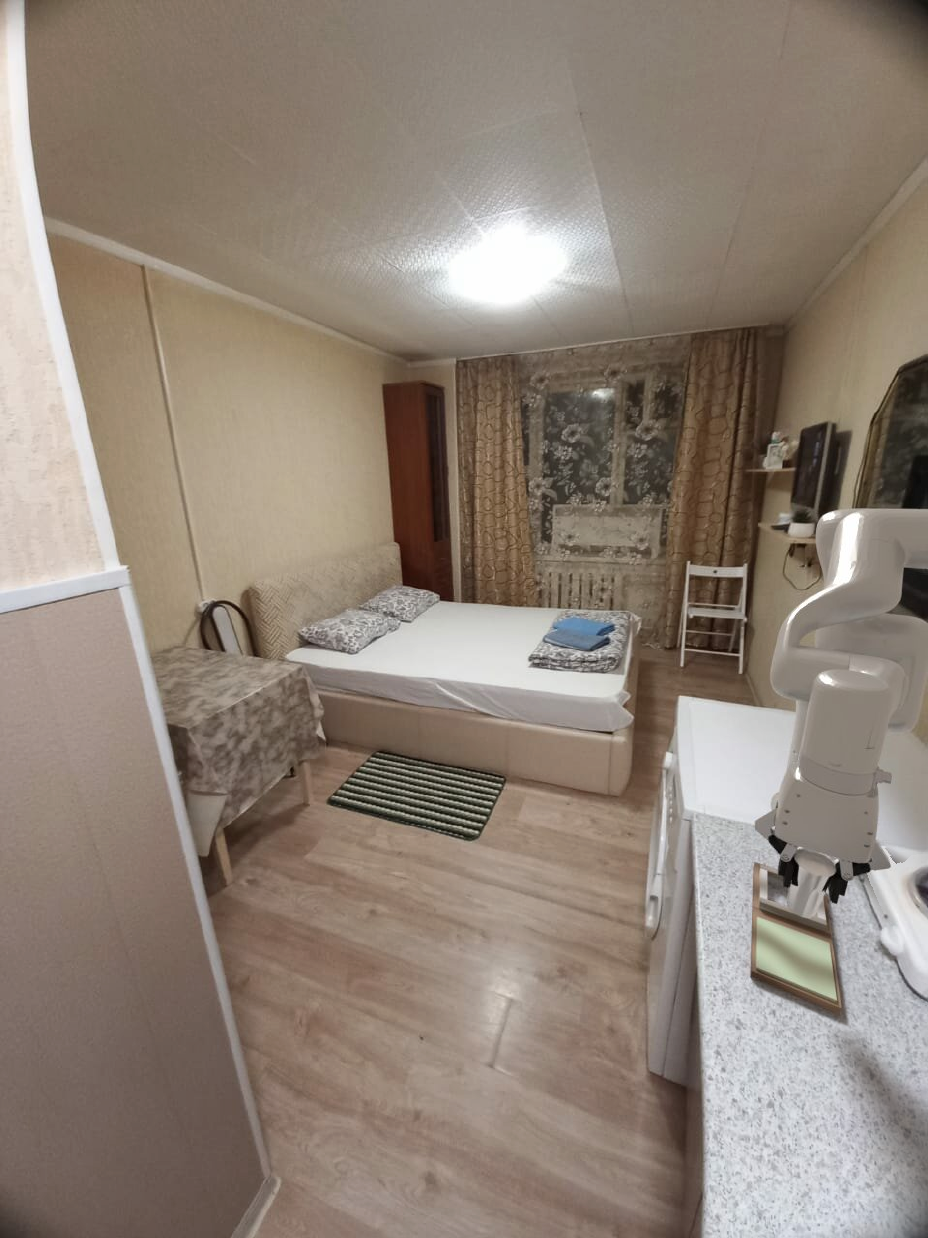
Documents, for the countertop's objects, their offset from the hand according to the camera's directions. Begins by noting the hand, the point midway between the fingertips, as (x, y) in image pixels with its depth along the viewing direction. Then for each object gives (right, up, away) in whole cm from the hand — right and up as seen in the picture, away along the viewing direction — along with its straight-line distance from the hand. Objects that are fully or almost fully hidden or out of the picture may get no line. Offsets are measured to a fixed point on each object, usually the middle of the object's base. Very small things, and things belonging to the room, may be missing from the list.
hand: (808, 886), depth 65 cm
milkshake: (0, -4, +1) cm, 4 cm away
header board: (+4, -12, +9) cm, 15 cm away
